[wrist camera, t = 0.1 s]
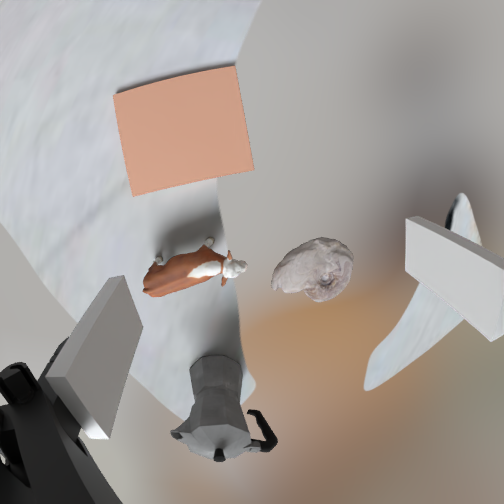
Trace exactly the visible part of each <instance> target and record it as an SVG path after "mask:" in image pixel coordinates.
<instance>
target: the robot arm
mask: <svg viewBox="0 0 504 504" xmlns="http://www.w3.org/2000/svg"><path fill="white" fill-rule="evenodd" d="M405 271H406V272H407V273H409V274H410V275H411V276H413V277H414V278H415V279H416V280H418V281H419V282H420V283H421V284H423V285H424V286H425V287H427V288H428V289H429V290H430V291H432V292H433V293H434V294H435V295H437V296H438V297H439V298H440V299H441V300H443V301H444V302H445V303H446V304H448V305H449V306H450V307H451V308H452V309H454V310H455V311H456V312H457V313H458V314H460V315H461V316H462V317H463V318H464V319H466V320H467V321H468V322H469V323H470V324H471V325H472V326H474V327H475V328H476V329H477V330H478V331H479V332H480V333H481V334H483V335H484V336H485V337H486V338H487V339H488V340H489V341H490V342H492V341H494V340H496V339H497V338H499V337H501V336H502V335H503V334H504V258H503V257H501V256H499V255H497V254H495V253H493V252H491V251H490V250H488V249H486V248H484V247H482V246H480V245H478V244H476V243H474V242H472V241H470V240H468V239H466V238H464V237H462V236H460V235H458V234H456V233H454V232H452V231H450V230H448V229H446V228H443V227H441V226H439V225H437V224H435V223H432V222H430V221H428V220H426V219H424V218H421V217H419V216H416V217H410V218H406V260H405ZM142 330H143V325H142V322H141V320H140V317H139V315H138V312H137V310H136V307H135V304H134V302H133V299H132V296H131V294H130V291H129V288H128V285H127V282H126V280H125V277H124V275H122V276H117V277H112V278H109V279H108V280H107V282H106V283H105V285H104V286H103V287H102V289H101V290H100V292H99V293H98V294H97V296H96V297H95V299H94V300H93V302H92V303H91V305H90V306H89V308H88V309H87V311H86V312H85V314H84V315H83V317H82V318H81V320H80V321H79V323H78V324H77V326H76V327H75V329H74V330H73V332H72V333H71V335H70V337H68V338H67V339H65V340H64V341H63V342H62V343H61V344H60V345H59V346H58V348H57V349H56V351H55V353H54V355H53V356H52V357H51V359H50V363H48V364H47V366H46V368H45V369H44V371H43V372H42V374H41V376H40V378H39V379H38V381H37V380H36V379H35V378H34V376H33V374H32V373H31V371H30V369H29V368H28V366H27V365H26V363H23V362H17V363H14V364H11V365H9V366H8V367H6V368H5V369H3V370H2V372H0V393H1V394H2V395H3V397H4V398H5V399H6V401H7V402H8V404H7V405H3V406H0V454H2V456H3V457H4V458H5V459H6V460H5V462H6V463H5V464H3V463H2V460H1V458H0V504H122V502H121V501H120V499H119V498H118V497H117V495H116V494H115V492H114V491H113V489H112V488H111V487H110V485H109V484H108V482H107V481H106V479H105V477H104V476H103V474H102V473H101V471H100V470H99V468H98V467H97V465H96V463H95V462H94V460H93V458H92V457H91V455H90V453H89V451H88V450H87V448H86V446H85V444H84V443H83V441H82V440H81V439H80V438H79V437H78V435H79V432H80V429H81V428H82V429H83V430H84V432H85V433H86V434H87V435H88V436H89V438H91V439H110V436H111V432H112V427H113V424H114V421H115V417H116V413H117V410H118V406H119V403H120V399H121V396H122V392H123V389H124V386H125V382H126V379H127V376H128V373H129V369H130V366H131V363H132V360H133V357H134V354H135V351H136V348H137V345H138V342H139V339H140V336H141V333H142Z"/></svg>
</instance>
